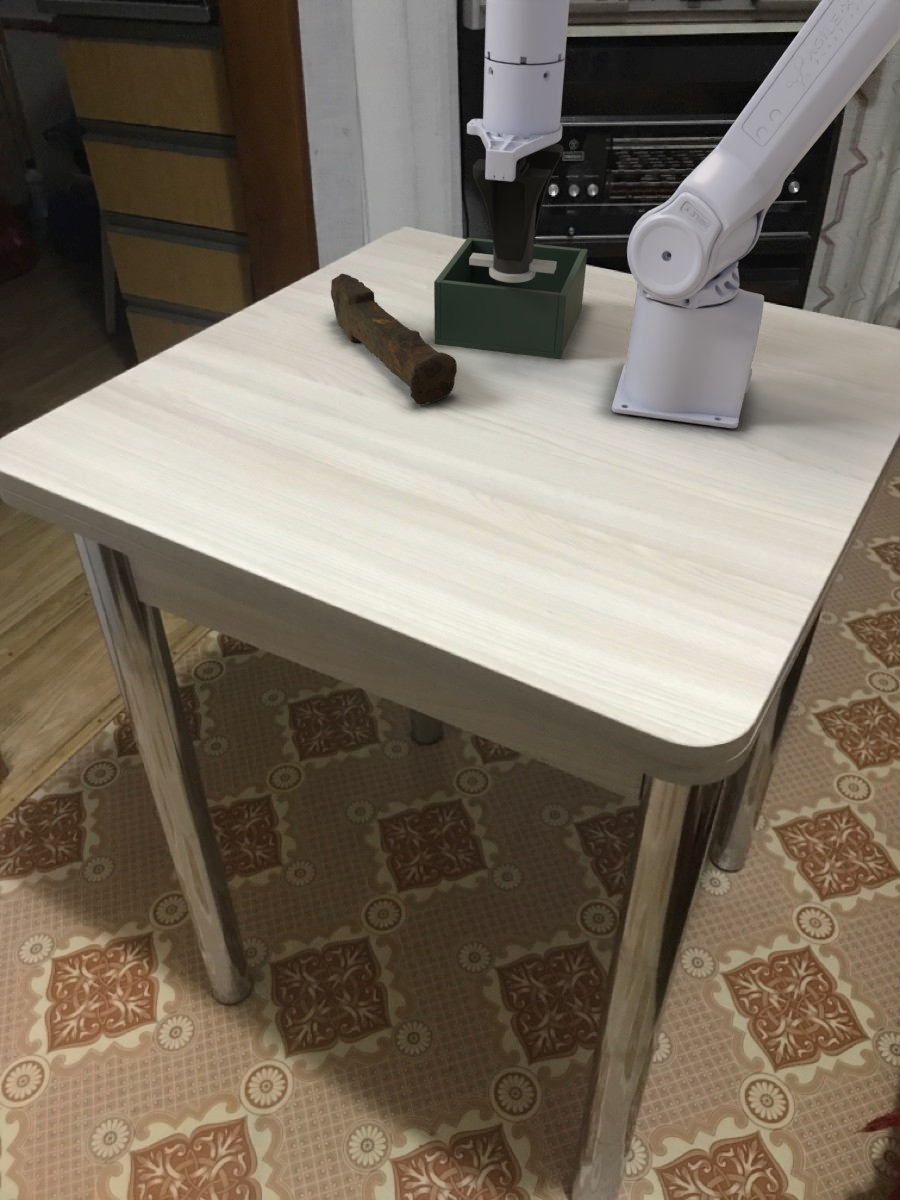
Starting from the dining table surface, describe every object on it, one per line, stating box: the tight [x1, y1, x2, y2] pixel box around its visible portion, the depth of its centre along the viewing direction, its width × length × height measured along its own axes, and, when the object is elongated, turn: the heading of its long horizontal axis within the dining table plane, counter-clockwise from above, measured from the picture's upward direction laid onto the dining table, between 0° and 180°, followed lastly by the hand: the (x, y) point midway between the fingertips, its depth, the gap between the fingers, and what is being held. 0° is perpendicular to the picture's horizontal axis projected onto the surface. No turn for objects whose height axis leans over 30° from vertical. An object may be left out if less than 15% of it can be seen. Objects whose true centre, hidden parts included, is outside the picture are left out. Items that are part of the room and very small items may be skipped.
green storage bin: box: [433, 237, 589, 360], centre depth 81 cm, size 11×11×6 cm
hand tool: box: [330, 273, 458, 406], centre depth 76 cm, size 19×4×5 cm, turn 27°
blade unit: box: [469, 208, 557, 283], centre depth 72 cm, size 7×4×7 cm, turn 75°
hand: (514, 250), depth 73 cm, fingers closed on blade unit, 3 cm apart
